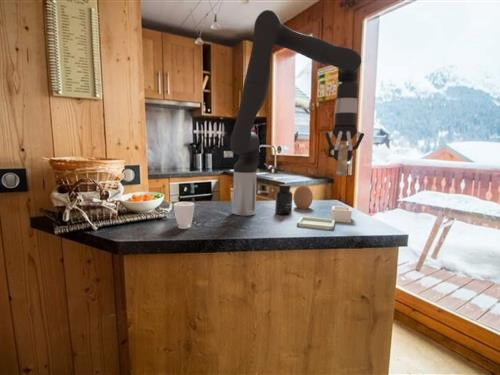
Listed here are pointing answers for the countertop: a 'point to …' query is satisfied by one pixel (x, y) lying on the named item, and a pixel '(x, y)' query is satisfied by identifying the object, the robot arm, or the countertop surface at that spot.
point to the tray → (316, 223)
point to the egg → (303, 197)
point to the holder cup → (341, 214)
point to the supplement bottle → (283, 200)
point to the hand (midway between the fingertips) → (342, 160)
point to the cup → (184, 214)
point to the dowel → (342, 160)
